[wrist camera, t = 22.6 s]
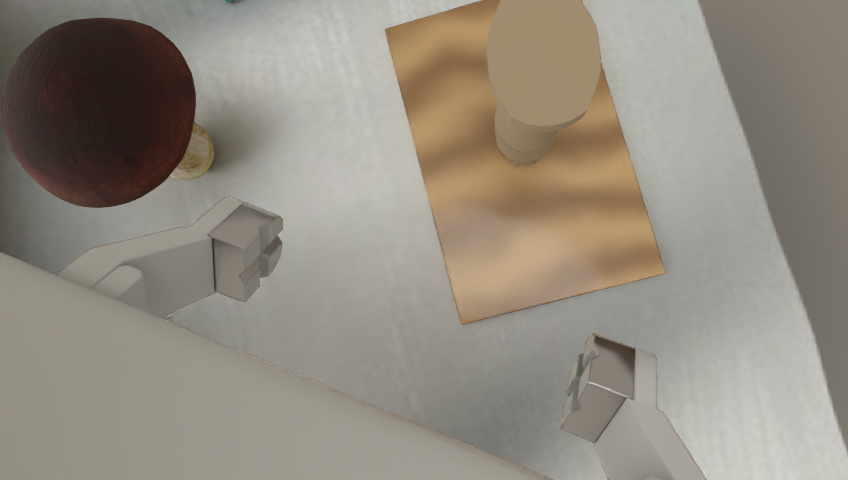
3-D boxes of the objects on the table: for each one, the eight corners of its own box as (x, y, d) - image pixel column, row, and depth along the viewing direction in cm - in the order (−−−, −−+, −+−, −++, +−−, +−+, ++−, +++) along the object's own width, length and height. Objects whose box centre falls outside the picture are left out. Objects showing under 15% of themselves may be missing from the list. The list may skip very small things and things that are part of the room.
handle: (552, 97, 40) (591, -22, 25) (561, 187, 39) (607, 119, 25) (482, 104, 41) (481, -9, 26) (490, 194, 40) (493, 131, 25)
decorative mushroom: (258, 75, 43) (141, -42, 28) (275, 219, 42) (161, 173, 27) (121, 101, 44) (-62, 0, 29) (133, 242, 43) (-53, 211, 28)
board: (663, 273, 39) (666, 273, 38) (461, 324, 40) (461, 324, 39) (572, -23, 42) (573, -27, 41) (385, 32, 43) (384, 28, 42)
